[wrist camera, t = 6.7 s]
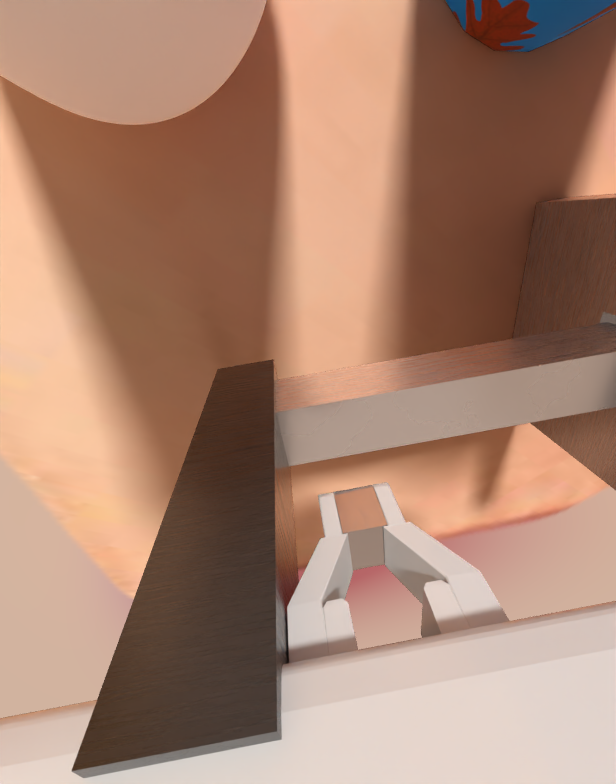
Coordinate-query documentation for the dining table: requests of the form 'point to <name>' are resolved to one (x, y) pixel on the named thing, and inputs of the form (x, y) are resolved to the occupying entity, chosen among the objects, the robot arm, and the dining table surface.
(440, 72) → the dining table surface
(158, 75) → the vase
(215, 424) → the shaft
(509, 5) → the thermos
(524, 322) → the bearing wall
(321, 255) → the dining table surface
